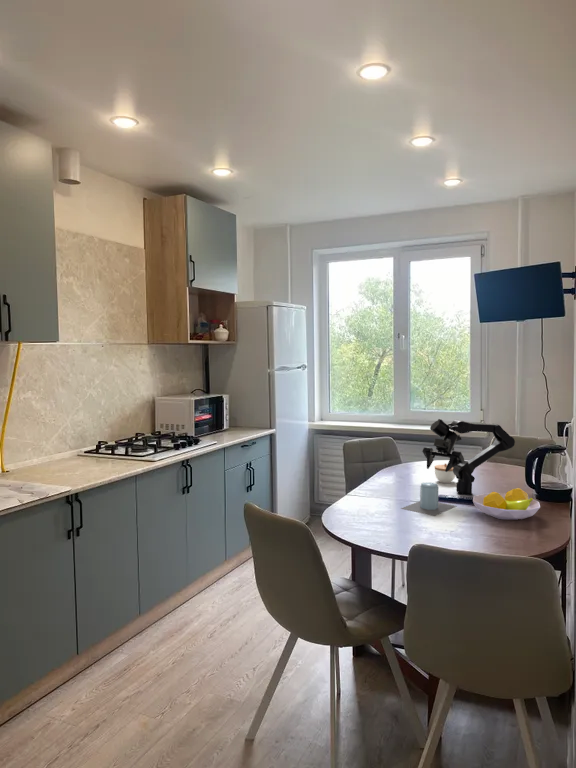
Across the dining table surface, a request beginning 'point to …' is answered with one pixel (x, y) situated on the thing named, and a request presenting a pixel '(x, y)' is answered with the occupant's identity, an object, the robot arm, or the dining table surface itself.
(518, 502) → the fruit bowl
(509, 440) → the robot arm
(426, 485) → the dome-topped octagonal prism
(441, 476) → the lidded jar
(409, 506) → the placemat
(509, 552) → the dining table surface
